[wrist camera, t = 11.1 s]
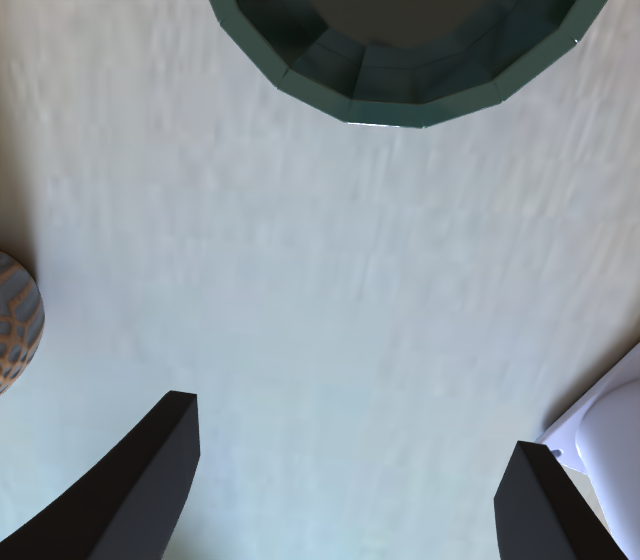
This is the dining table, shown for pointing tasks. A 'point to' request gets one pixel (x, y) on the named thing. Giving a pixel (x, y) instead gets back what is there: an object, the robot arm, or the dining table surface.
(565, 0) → the dark green bowl
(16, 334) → the vase
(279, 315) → the dining table surface
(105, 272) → the dining table surface
